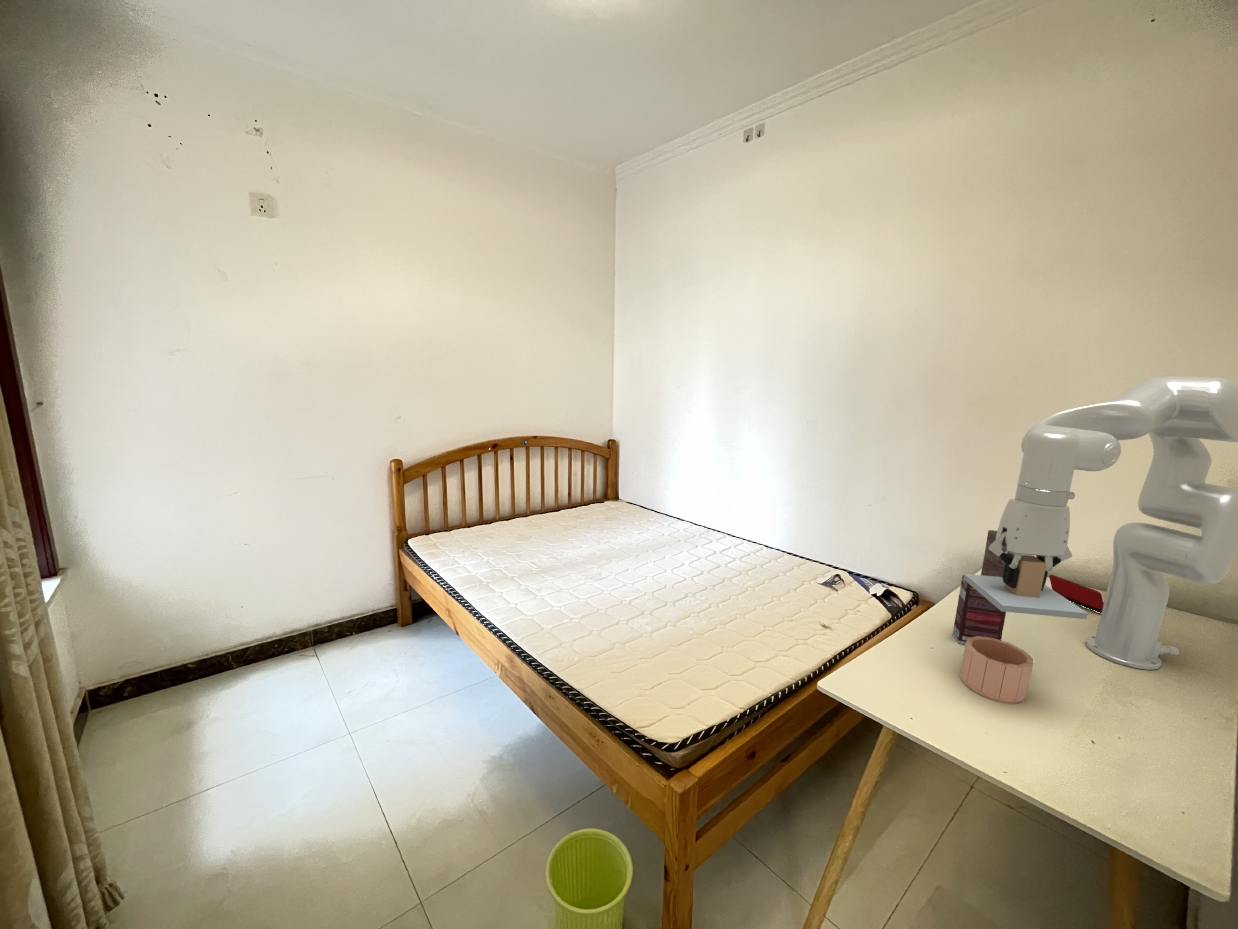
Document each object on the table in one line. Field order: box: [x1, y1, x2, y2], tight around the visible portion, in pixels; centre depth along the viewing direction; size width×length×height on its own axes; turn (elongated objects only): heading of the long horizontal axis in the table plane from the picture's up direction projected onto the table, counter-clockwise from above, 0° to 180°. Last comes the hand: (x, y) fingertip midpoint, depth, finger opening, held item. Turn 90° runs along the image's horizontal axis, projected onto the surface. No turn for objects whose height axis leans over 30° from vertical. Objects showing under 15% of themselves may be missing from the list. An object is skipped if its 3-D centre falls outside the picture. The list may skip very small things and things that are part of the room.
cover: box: [963, 554, 1089, 620], centre depth 97 cm, size 14×14×8 cm
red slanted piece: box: [1048, 574, 1105, 613], centre depth 141 cm, size 12×11×7 cm
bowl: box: [959, 636, 1034, 705], centre depth 103 cm, size 11×11×8 cm
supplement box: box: [952, 574, 1007, 646], centre depth 119 cm, size 9×5×16 cm, turn 71°
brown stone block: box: [980, 529, 1007, 577], centre depth 142 cm, size 8×7×20 cm
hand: (1022, 585), depth 98 cm, fingers closed on cover, 4 cm apart
